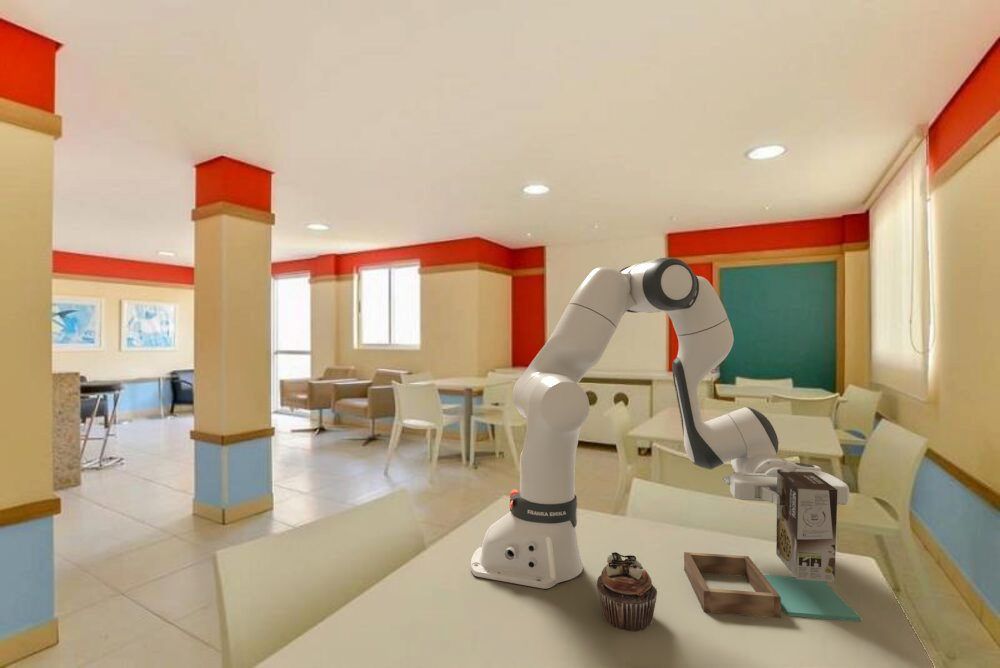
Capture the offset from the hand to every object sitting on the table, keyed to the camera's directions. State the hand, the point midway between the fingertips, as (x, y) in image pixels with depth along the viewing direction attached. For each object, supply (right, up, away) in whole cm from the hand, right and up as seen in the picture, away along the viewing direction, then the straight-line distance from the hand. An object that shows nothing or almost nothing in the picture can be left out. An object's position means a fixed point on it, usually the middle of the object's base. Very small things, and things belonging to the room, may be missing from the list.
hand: (804, 502), depth 87 cm
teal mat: (0, -17, 0) cm, 17 cm away
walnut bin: (-13, -17, +2) cm, 21 cm away
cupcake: (-33, -17, -6) cm, 38 cm away
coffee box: (0, -12, 0) cm, 12 cm away
